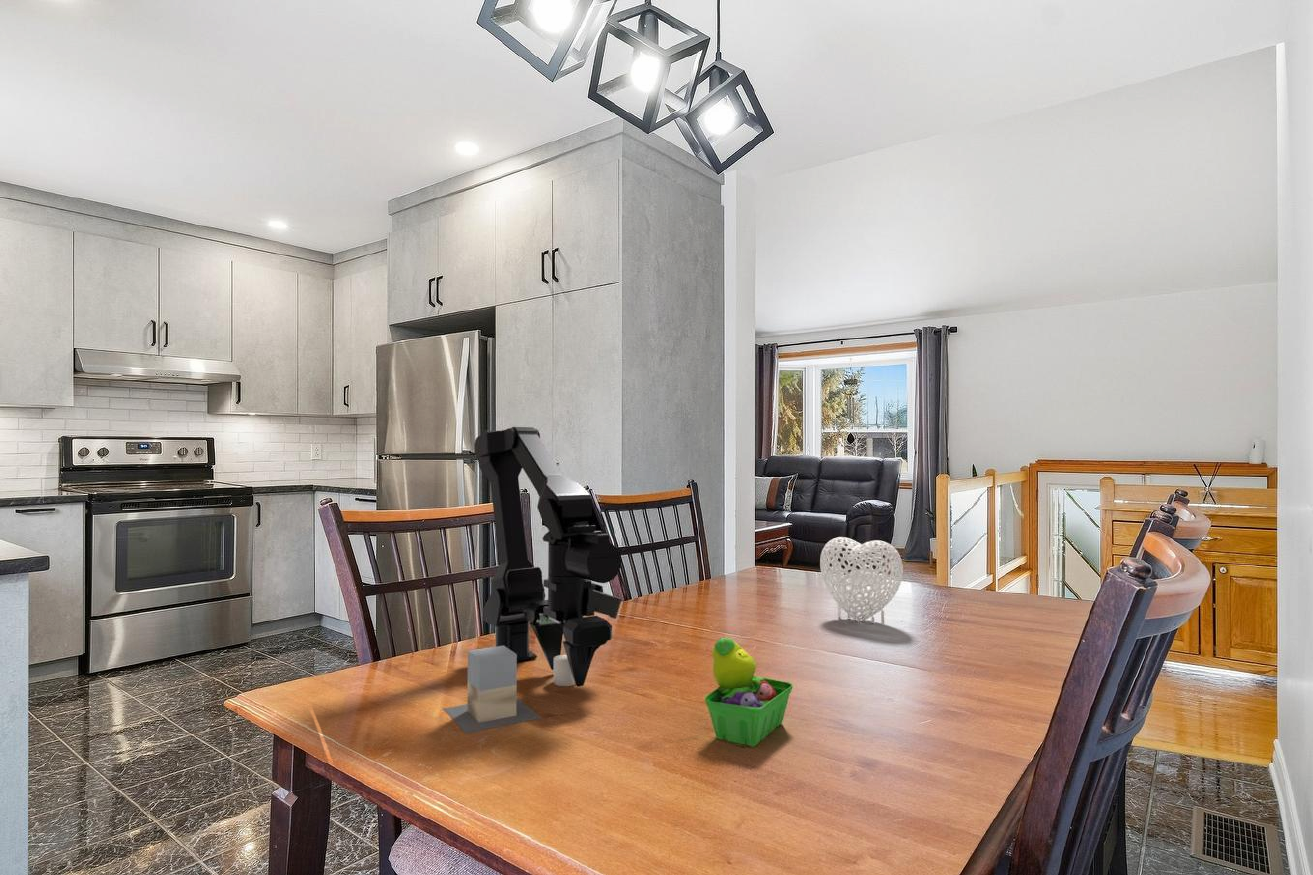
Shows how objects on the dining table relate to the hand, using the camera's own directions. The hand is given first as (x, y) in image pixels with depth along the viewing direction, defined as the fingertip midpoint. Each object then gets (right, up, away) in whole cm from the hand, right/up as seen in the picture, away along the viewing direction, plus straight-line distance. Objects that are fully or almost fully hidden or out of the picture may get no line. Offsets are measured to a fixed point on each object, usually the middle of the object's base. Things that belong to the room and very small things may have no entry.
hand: (566, 677), depth 109 cm
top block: (-8, +4, -13) cm, 16 cm away
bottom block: (-8, 0, -13) cm, 16 cm away
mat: (-8, -1, -13) cm, 16 cm away
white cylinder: (0, -1, 0) cm, 1 cm away
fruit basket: (+25, -1, -18) cm, 30 cm away
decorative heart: (+56, -2, +41) cm, 69 cm away
